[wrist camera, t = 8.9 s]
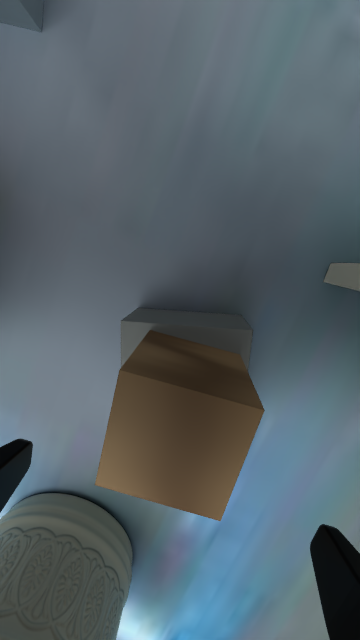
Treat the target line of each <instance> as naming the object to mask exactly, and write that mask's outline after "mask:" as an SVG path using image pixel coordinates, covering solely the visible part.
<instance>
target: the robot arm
mask: <svg viewBox="0 0 360 640" xmlns="http://www.w3.org/2000/svg"><path fill="white" fill-rule="evenodd" d="M32 448H33V444H32V442H31V441H28V440H24V439H16V440H14V441H12V442H10V443H8V444H6V445H4V446H2V447H0V512H1V511H2V509H3V508H4V506H5V505H6V503H7V502H8V500H9V499H10V497H11V495H12V494H13V492H14V491H15V489H16V488H17V486H18V485H19V483H20V482H21V480H22V479H23V477H24V476H25V474H26V472H27V471H28V469H29V467H30V464H31V457H32ZM310 552H311V558H312V562H313V567H314V572H315V577H316V581H317V586H318V591H319V595H320V600H321V605H322V610H323V614H324V618H325V623H326V627H327V631H328V635H329V638H330V640H360V553H359V552H358V551H357V550H356V549H355V548H354V547H353V545H352V544H351V543H350V542H349V541H348V540H347V539H346V538H345V537H344V535H343V534H342V533H341V532H340V531H339V530H338V529H337V528H335V527H332V526H328V525H325V524H322V525H320V526H319V528H318V530H317V532H316V534H315V535H314V537H313V539H312V541H311V544H310Z"/></svg>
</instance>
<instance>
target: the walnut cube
mask: <svg viewBox="0 0 360 640" xmlns="http://www.w3.org/2000/svg"><path fill="white" fill-rule="evenodd" d="M263 413H264V408H263V406H262V403H261V401H260V399H259V397H258V394H257V392H256V390H255V387H254V385H253V383H252V381H251V378H250V376H249V374H248V371H247V369H246V367H245V365H244V362H243V360H242V358H241V355H240V354H236V353H233V352H229V351H225V350H222V349H218V348H214V347H211V346H207V345H203V344H200V343H196V342H192V341H189V340H185V339H182V338H178V337H174V336H171V335H167V334H163V333H160V332H156V331H152V330H149V332H148V333H147V334H146V336H145V337H144V338H143V339H142V341H141V342H140V343H139V345H138V346H137V347H136V349H135V350H134V351H133V353H132V354H131V355H130V357H129V358H128V359H127V361H126V362H125V363H124V365H123V366H122V367H121V369H120V370H119V375H118V379H117V384H116V389H115V393H114V398H113V403H112V407H111V412H110V417H109V421H108V426H107V431H106V435H105V440H104V445H103V449H102V454H101V459H100V463H99V468H98V473H97V477H96V482H95V485H97V486H100V487H104V488H107V489H111V490H114V491H118V492H121V493H124V494H128V495H131V496H135V497H138V498H142V499H145V500H149V501H152V502H156V503H159V504H163V505H166V506H170V507H173V508H177V509H180V510H183V511H187V512H190V513H194V514H197V515H201V516H204V517H208V518H211V519H215V520H218V521H221V518H222V516H223V513H224V511H225V508H226V506H227V503H228V501H229V498H230V496H231V493H232V491H233V488H234V486H235V483H236V481H237V478H238V476H239V473H240V471H241V468H242V466H243V463H244V461H245V458H246V456H247V453H248V451H249V448H250V445H251V443H252V440H253V438H254V435H255V433H256V430H257V428H258V425H259V423H260V420H261V418H262V415H263Z"/></svg>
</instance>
